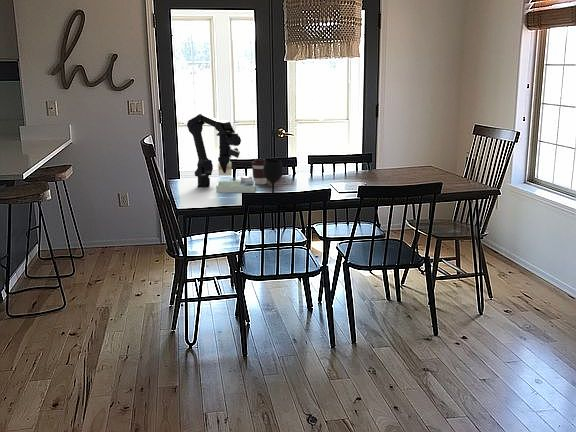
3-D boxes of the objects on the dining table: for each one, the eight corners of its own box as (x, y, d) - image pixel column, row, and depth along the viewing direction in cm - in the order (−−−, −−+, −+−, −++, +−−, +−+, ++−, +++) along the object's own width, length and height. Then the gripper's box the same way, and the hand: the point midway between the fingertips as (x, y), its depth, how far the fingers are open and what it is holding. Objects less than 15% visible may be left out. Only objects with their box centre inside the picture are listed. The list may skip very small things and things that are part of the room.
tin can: (240, 190, 348) (240, 178, 346) (240, 188, 354) (240, 176, 352) (252, 190, 348) (252, 178, 346) (252, 188, 354) (252, 176, 353)
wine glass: (282, 196, 337) (282, 159, 332) (283, 200, 326) (283, 162, 322) (263, 196, 336) (263, 159, 332) (263, 200, 326) (263, 162, 321)
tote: (216, 193, 343) (216, 186, 342) (218, 187, 358) (218, 181, 357) (254, 193, 344) (254, 186, 343) (254, 187, 359) (254, 181, 358)
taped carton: (218, 175, 346) (218, 163, 344) (219, 173, 351) (218, 161, 349) (231, 175, 346) (231, 163, 345) (231, 174, 351) (231, 161, 349)
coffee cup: (253, 186, 364) (253, 160, 360) (250, 183, 373) (249, 158, 370) (270, 185, 367) (269, 160, 363) (266, 182, 376) (266, 157, 372)
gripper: (238, 146, 336) (238, 175, 339) (239, 142, 354) (239, 169, 358) (217, 146, 335) (218, 174, 339) (220, 142, 353) (220, 169, 357)
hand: (224, 172), depth 348 cm, fingers closed on taped carton, 5 cm apart
